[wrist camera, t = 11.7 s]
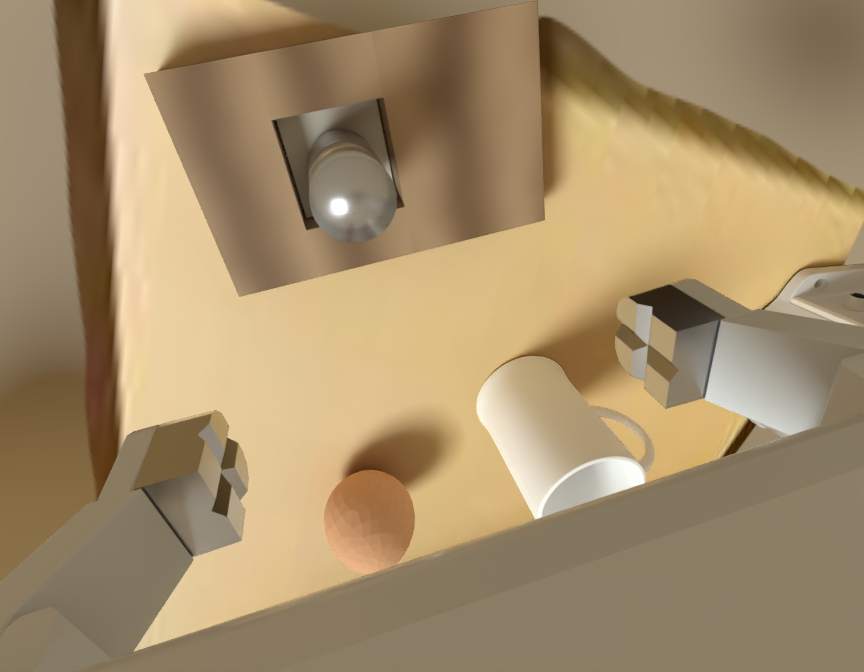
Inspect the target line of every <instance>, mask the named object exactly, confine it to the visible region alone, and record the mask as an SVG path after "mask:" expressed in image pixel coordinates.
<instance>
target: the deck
mask: <svg viewBox="0 0 864 672" xmlns="http://www.w3.org/2000/svg"><path fill="white" fill-rule="evenodd" d="M144 76H145V78H146V81H147V83H148V85H149V88H150V90H151V92H152V95H153V97H154V99H155V102H156V104H157V106H158V109H159V111H160V113H161V116H162V118H163V120H164V123H165V125H166V127H167V130H168V132H169V134H170V137H171V139H172V141H173V143H174V146H175V148H176V150H177V153H178V155H179V157H180V160H181V162H182V164H183V167H184V169H185V171H186V174H187V176H188V178H189V181H190V183H191V185H192V188H193V190H194V192H195V195H196V197H197V199H198V202H199V204H200V206H201V209H202V211H203V213H204V216H205V218H206V220H207V223H208V225H209V227H210V230H211V232H212V234H213V237H214V239H215V241H216V244H217V246H218V248H219V251H220V253H221V255H222V258H223V260H224V262H225V265H226V267H227V269H228V272H229V274H230V276H231V279H232V281H233V283H234V286H235V288H236V290H237V293H238V295H239V297H241V296H245V295H249V294H253V293H257V292H261V291H265V290H269V289H273V288H277V287H281V286H285V285H289V284H293V283H297V282H301V281H305V280H309V279H313V278H317V277H321V276H324V275H328V274H332V273H336V272H340V271H344V270H348V269H352V268H356V267H360V266H364V265H368V264H372V263H376V262H380V261H384V260H388V259H392V258H396V257H400V256H404V255H408V254H412V253H416V252H420V251H424V250H428V249H432V248H436V247H440V246H444V245H448V244H452V243H456V242H460V241H464V240H468V239H472V238H476V237H480V236H484V235H488V234H492V233H496V232H500V231H504V230H508V229H512V228H516V227H520V226H524V225H528V224H532V223H536V222H540V221H544V220H545V210H544V179H543V148H542V117H541V86H540V55H539V24H538V0H536V1H531V2H526V3H520V4H515V5H510V6H504V7H499V8H494V9H489V10H483V11H478V12H472V13H467V14H461V15H456V16H451V17H446V18H440V19H435V20H429V21H424V22H419V23H413V24H408V25H403V26H397V27H392V28H387V29H381V30H376V31H371V32H365V33H360V34H354V35H349V36H344V37H338V38H333V39H328V40H322V41H317V42H312V43H306V44H301V45H296V46H290V47H285V48H280V49H274V50H269V51H264V52H258V53H253V54H248V55H242V56H237V57H231V58H226V59H221V60H215V61H210V62H205V63H199V64H194V65H189V66H183V67H178V68H173V69H167V70H162V71H157V72H151V73H146V74H144ZM377 99H378V104H379V109H380V114H381V119H382V124H383V129H384V134H385V139H386V144H387V149H388V154H389V159H390V163H389V159H388V154H387V149H386V144H385V139H384V134H383V129H382V124H381V119H380V114H379V109H378V104H377ZM275 120H276V122H277V125H278V128H279V131H280V135H281V138H282V141H283V144H284V147H285V151H286V154H287V157H288V160H289V164H290V167H291V170H292V173H293V176H294V180H295V183H296V186H297V189H298V192H299V196H300V199H301V202H302V205H303V209H304V212H305V215H306V218H305V216H304V213H303V210H302V207H301V203H300V200H299V197H298V194H297V191H296V187H295V184H294V181H293V178H292V175H291V171H290V168H289V165H288V162H287V159H286V155H285V152H284V149H283V146H282V143H281V139H280V136H279V133H278V130H277V127H276V123H275ZM339 128H340V129H348V130H351V131H354V132H356V133H358V134H359V135H361V136H362V137H363V138H364V139H365V140H366V141H367V142H368V143H369V145H370V146H371V148H372V149H373V151H374V152H375V154H376V155H377V157H378V159H379V160H380V162H381V163H382V165H383V166H384V168H385V169H386V171H387V172H388V174H389V176H390V177H391V179H392V181H393V179H394V184H395V189H396V193H397V207H396V211H395V215H394V217H393V219H392V221H391V223H390V224H389V226H388V227H387V228H386V229H385V230H384V231H383V232H382V233H381V234H380V235H378V236H377V237H375V238H373V239H371V240H368V241H365V242H359V243H350V242H344V241H340V240H338V239H335V238H333V237H331V236H330V235H328V234H327V233H326V232H325V231H324V230H322V229H321V227H320V226H319V225H318V224H317V222H316V221H315V219H314V217H312V216H313V215H312V212H311V208H310V201H309V174H308V156H309V152H310V149H311V146H312V145H313V143H314V142H315V140H316V139H317V138H318V137H319V136H320V135H321V134H323V133H325V132H327V131H329V130H332V129H339ZM390 164H391V168H390ZM391 169H392V173H391ZM392 174H393V178H392ZM308 217H309V218H308Z"/></svg>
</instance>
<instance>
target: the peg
mask: <svg viewBox="0 0 864 672" xmlns="http://www.w3.org/2000/svg"><path fill="white" fill-rule="evenodd" d="M308 174H309V201H310V208H311V212H312V215H313V217H314V219H315V221H316V222H317V224H318V225H319V226H320V227H321V229H322V230H324V231H325V232H326V233H327V234H328V235H330V236H331V237H333V238H335V239H338V240H340V241H344V242H350V243H359V242H365V241H368V240H371V239H373V238H375V237H377V236H378V235H380V234H381V233H382V232H383V231H384V230H385V229H386V228H387V227H388V226H389V224H390V223H391V221H392V219H393V217H394V215H395V211H396V207H397V193H396V189H395V186H394V183H393V181H392V179H391V177H390V176H389V174H388V172H387V171H386V169H385V168H384V166H383V165H382V163H381V162H380V160H379V159H378V157H377V155H376V154H375V152H374V151H373V149H372V148H371V146H370V145H369V143H368V142H367V141H366V140H365V139H364V138H363V137H362V136H361V135H359V134H358V133H356V132H354V131H351V130H348V129H340V128H339V129H332V130H329V131H327V132H325V133H323V134H321V135H320V136H319V137H318V138H317V139H316V140H315V142H314V143H313V145H312V146H311V149H310V152H309V156H308Z"/></svg>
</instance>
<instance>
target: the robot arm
mask: <svg viewBox="0 0 864 672" xmlns="http://www.w3.org/2000/svg"><path fill="white" fill-rule="evenodd" d="M616 317H617V319H618V320H619V321H620V322H621V323H622V326H621V327H620V329H619V330H618V332H617V333H616V335H615V350H616V354H617V357H618V360H619V362H620V364H621V365H622V367H623V368H624V370H625V371H626V372H627V373H628V374H629V375H630V376H632V377H635V378H639V379H642V380H645V384H644V389H645V390H646V391H647V392H648V393H649V394H650V395H651V396H652V397H654V398H655V399H656V400H657V401H658V402H659V403H660V404H661V405H662V406H663V407H664V408H665V409H667V408H670V407H674V406H678V405H681V404H685V403H688V402H692V401H695V400H699V399H703V398H705V400H706V401H709V402H711V403H714V404H716V405H718V406H721V407H723V408H726V409H728V410H730V411H733V412H735V413H738V414H740V415H742V416H745V417H747V418H749V419H750V420H751V421H752V422H753V423H755V424H756V425H758V426H759V427H761V428H769V429H771V430H772V431H774V432H775V433H777V434H778V435H780V436H782V437H783V438H780V439H777V440H774V441H771V442H768V443H765V444H762V445H759V446H756V447H753V448H750V449H747V450H744V451H742V452H738V453H735V454H732V455H729V456H726V457H723V458H720V459H717V460H714V461H711V462H708V463H705V464H702V465H699V466H695V467H692V468H689V469H686V470H683V471H680V472H677V473H674V474H671V475H668V476H665V477H662V478H659V479H656V480H653V481H650V482H647V483H644V484H641V485H638V486H635V487H632V488H629V489H626V490H622V491H619V492H616V493H613V494H610V495H607V496H604V497H601V498H598V499H595V500H592V501H589V502H586V503H583V504H580V505H577V506H574V507H571V508H568V509H565V510H562V511H559V512H556V513H553V514H550V515H547V516H544V517H541V518H538V519H535V520H532V521H529V522H526V523H522V524H519V525H516V526H513V527H510V528H507V529H504V530H501V531H498V532H495V533H492V534H489V535H486V536H483V537H480V538H477V539H474V540H471V541H468V542H465V543H462V544H459V545H456V546H453V547H450V548H447V549H444V550H441V551H438V552H435V553H432V554H429V555H426V556H423V557H420V558H417V559H414V560H411V561H408V562H404V563H401V564H398V565H395V566H392V567H389V568H386V569H383V570H380V571H377V572H374V573H371V574H368V575H365V576H362V577H359V578H356V579H353V580H350V581H347V582H344V583H341V584H338V585H335V586H332V587H329V588H326V589H323V590H320V591H317V592H314V593H311V594H308V595H305V596H302V597H298V598H295V599H292V600H289V601H286V602H283V603H280V604H277V605H274V606H271V607H268V608H265V609H262V610H259V611H256V612H253V613H250V614H247V615H244V616H241V617H238V618H235V619H232V620H229V621H226V622H223V623H220V624H217V625H214V626H211V627H208V628H205V629H202V630H199V631H196V632H193V633H189V634H186V635H183V636H180V637H177V638H174V639H171V640H168V641H165V642H162V643H159V644H156V645H153V646H150V647H147V648H144V649H141V650H138V651H135V652H133V651H134V650H135V648H136V647H137V645H138V644H139V642H140V641H141V639H142V637H143V636H144V634H145V633H146V631H147V630H148V628H149V627H150V625H151V624H152V622H153V621H154V619H155V618H156V616H157V615H158V613H159V612H160V610H161V609H162V607H163V606H164V604H165V603H166V601H167V599H168V598H169V596H170V595H171V593H172V592H173V590H174V589H175V587H176V586H177V584H178V583H179V581H180V580H181V578H182V577H183V575H184V574H185V572H186V571H187V569H188V568H189V566H190V564H191V563H192V561H193V558H192V557H195V556H198V555H201V554H204V553H207V552H210V551H213V550H216V549H219V548H222V547H224V546H227V545H230V544H233V543H236V542H239V541H242V535H243V526H244V518H245V508H244V507H243V505H242V503H241V501H240V500H241V498H242V497H243V496H244V495H245V493H246V492H247V491H248V480H249V477H248V469H247V463H246V460H245V457H244V454H243V451H242V449H241V448H240V446H239V444H238V443H237V442H235V441H233V440H231V439H229V438H227V435H228V429H229V425H228V423H227V422H226V420H225V418H224V416H223V415H222V413H221V412H219V411H217V410H214V411H210V412H206V413H202V414H198V415H194V416H190V417H187V418H183V419H179V420H175V421H171V422H167V423H163V424H161V425H155V426H152V427H148V428H144V429H141V430H137V431H134V432H132V433H131V434H129V435H127V437H126V439H125V441H124V443H123V446H122V448H121V450H120V452H119V454H118V457H117V459H116V461H115V463H114V465H113V468H112V470H111V472H110V474H109V476H108V479H107V481H106V483H105V485H104V488H103V490H102V492H101V494H100V496H99V499H98V501H96V502H92V503H89V504H87V505H86V506H85V507H84V508H83V509H81V510H80V511H79V512H78V513H77V514H76V515H75V516H74V517H72V518H71V519H70V520H69V521H68V522H67V523H66V524H65V525H64V526H63V527H61V528H60V529H59V530H58V531H57V532H56V533H55V534H53V535H52V536H51V537H50V538H49V539H48V540H47V541H46V542H45V543H43V544H42V545H41V546H40V547H39V548H38V549H37V550H36V551H34V553H32V554H31V555H30V556H29V557H28V558H27V559H26V560H24V561H23V562H22V563H21V564H20V565H19V566H18V567H16V569H14V570H13V571H12V572H11V573H10V574H9V575H8V576H6V577H5V578H4V579H3V580H2V581H1V582H0V672H864V264H854V265H842V266H830V267H818V268H807V269H804V270H801V271H800V272H798V273H797V274H796V275H795V276H794V277H793V278H792V279H791V280H790V282H789V283H788V284H787V285H786V287H785V288H784V289H783V290H782V292H781V293H780V295H779V296H778V297H777V298H776V299H775V300H774V301H773V302H772V303H771V304H770V305H769V306H768V307H767V308H765V309H764V310H762V309H757V310H753V311H751V310H749V309H748V308H746V307H744V306H742V305H740V304H739V303H737V302H735V301H733V300H731V299H730V298H728V297H726V296H724V295H722V294H721V293H719V292H717V291H715V290H713V289H712V288H710V287H708V286H706V285H704V284H703V283H701V282H699V281H697V280H695V279H684V280H681V281H677V282H674V283H671V284H668V285H665V286H663V287H659V288H656V289H653V290H649V291H646V292H642V293H639V294H636V295H632V296H629V297H625V298H622V299H620V301H619V303H618V305H617V314H616Z"/></svg>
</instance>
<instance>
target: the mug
mask: <svg viewBox="0 0 864 672" xmlns="http://www.w3.org/2000/svg"><path fill="white" fill-rule="evenodd" d="M476 408H477V414H478V417H479V419H480V421H481V423H482V424H483V425H484V427H485V428H487V429H488V431H489V433H490V434H491V436H492V438H493V440H494V442H495V444H496V446H497V447H498V449H499V451H500V453H501V455H502V457H503V459H504V461H505V463H506V465H507V466H508V468H509V470H510V472H511V474H512V476H513V478H514V480H515V482H516V484H517V485H518V487H519V489H520V491H521V493H522V495H523V497H524V499H525V501H526V503H527V504H528V506H529V508H530V510H531V512H532V514H533V516H534V518H535V519H538V518H541V517H544V516H547V515H550V514H553V513H556V512H559V511H562V510H565V509H568V508H571V507H574V506H577V505H580V504H583V503H586V502H589V501H592V500H595V499H598V498H601V497H604V496H607V495H610V494H613V493H616V492H619V491H622V490H626V489H629V488H632V487H635V486H638V485H641V484H644V483H646V474H645V473H646V472H647V471H648V470H649V469H650V467H651V465H652V463H653V460H654V447H653V443H652V441H651V439H650V437H649V435H648V434H647V433H646V431H645V430H644V429H643V428H642V427H641V426H640V425H639V424H638V423H636V422H635V421H634V420H632V419H631V418H629V417H627V416H625V415H624V414H621V413H619V412H617V411H614V410H611V409H608V408H604V407H600V406H593V405H589V404H588V402H587V401H586V400H585V399H584V398H583V397H582V395H581V394H580V393H579V392H578V391H577V390H576V388H575V387H574V386H573V385H572V384H571V382H570V381H569V380H568V379H567V377H566V374H565V372H564V370H563V369H562V368H561V366H560V365H559V364H557V363H556V362H555V361H553V360H551V359H549V358H546V357H542V356H526V357H521V358H517V359H514V360H512V361H510V362H508V363H506V364H504V365H502V366H501V367H499V368H498V369H497V370H496V371H494V372H493V373H492V374H491V375H490V376H489V377H488V379H487V380H486V381H485V383H484V384H483V386H482V387H481V389H480V392H479V394H478V398H477V404H476ZM600 417H605V418H609V419H612V420H615V421H617V422H620V423H622V424H624V425H625V426H627V427H629V428H630V429H631V430H633V431H634V432H635V433H636V434H637V435H638V436H639V437H640V438H641V440H642V441H643V443H644V446H645V454H644V456H643V457H642V459H640V460H639V461H637V460H636V458H635V457H634V456H633V455H632V454H631V453H630V451H629V450H628V449H627V448H626V447H625V446H624V444H623V443H622V442H621V441H620V440H619V439H618V437H617V436H616V435H615V434H614V433H613V432H612V430H611V429H610V428H609V427H608V426H607V425H606V423H605V422H604V421H603V420H602V419H601V418H600Z"/></svg>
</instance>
